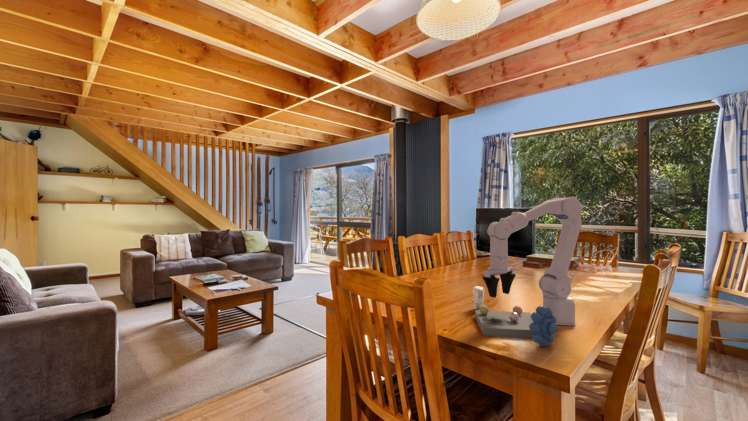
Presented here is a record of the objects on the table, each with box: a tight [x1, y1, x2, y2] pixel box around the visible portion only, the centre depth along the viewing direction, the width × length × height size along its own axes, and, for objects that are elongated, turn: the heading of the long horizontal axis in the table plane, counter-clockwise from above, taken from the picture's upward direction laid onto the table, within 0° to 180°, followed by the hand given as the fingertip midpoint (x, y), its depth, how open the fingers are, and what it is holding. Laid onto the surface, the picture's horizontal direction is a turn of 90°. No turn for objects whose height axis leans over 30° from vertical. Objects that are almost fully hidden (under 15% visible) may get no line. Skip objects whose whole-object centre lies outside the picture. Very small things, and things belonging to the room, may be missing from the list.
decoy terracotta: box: [512, 305, 524, 315], centre depth 114 cm, size 3×3×3 cm
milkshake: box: [472, 285, 486, 311], centre depth 128 cm, size 4×5×10 cm
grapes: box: [529, 305, 559, 348], centre depth 93 cm, size 12×7×12 cm, turn 122°
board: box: [474, 309, 533, 339], centre depth 109 cm, size 19×18×2 cm
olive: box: [479, 304, 490, 315], centre depth 115 cm, size 3×3×3 cm
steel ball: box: [509, 311, 520, 322], centre depth 107 cm, size 3×3×3 cm
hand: (499, 295), depth 113 cm, fingers open, 7 cm apart
